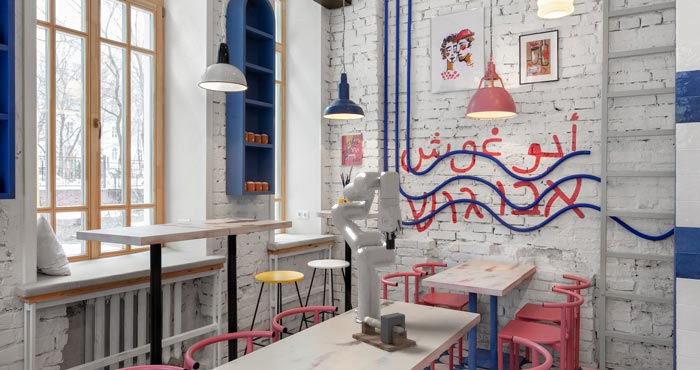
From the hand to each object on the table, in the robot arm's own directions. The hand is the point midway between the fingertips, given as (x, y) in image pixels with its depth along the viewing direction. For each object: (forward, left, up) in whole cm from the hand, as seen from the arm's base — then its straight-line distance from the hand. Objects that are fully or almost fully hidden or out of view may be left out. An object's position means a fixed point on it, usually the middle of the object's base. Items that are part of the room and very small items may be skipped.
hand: (390, 249), depth 197 cm
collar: (+14, -11, -31) cm, 35 cm away
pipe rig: (+8, -11, -32) cm, 35 cm away
